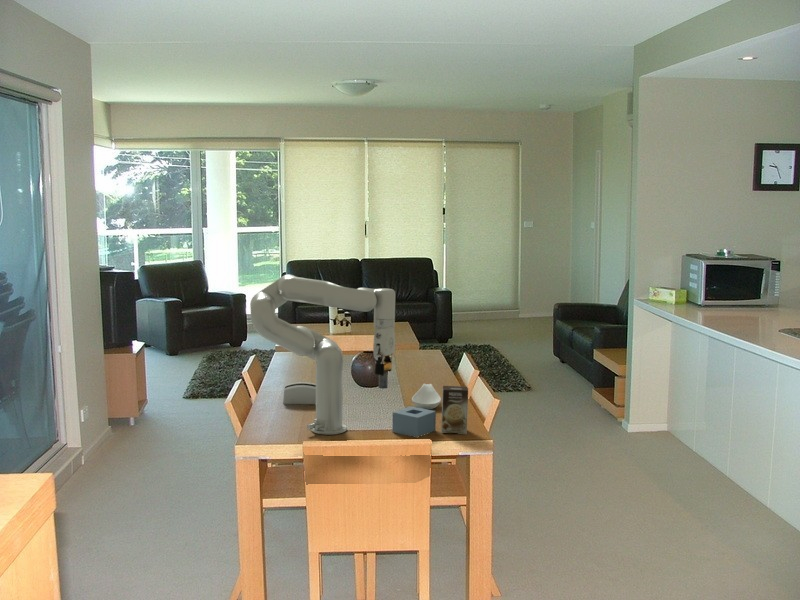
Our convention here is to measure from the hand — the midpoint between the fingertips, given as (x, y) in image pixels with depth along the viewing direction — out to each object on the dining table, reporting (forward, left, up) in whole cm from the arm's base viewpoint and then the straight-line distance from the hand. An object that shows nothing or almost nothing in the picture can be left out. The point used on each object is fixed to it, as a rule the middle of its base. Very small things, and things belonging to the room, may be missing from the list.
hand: (383, 372), depth 279 cm
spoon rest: (+38, +7, -21) cm, 44 cm away
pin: (0, 0, -6) cm, 6 cm away
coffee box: (+12, -23, -21) cm, 33 cm away
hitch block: (+3, -12, -20) cm, 24 cm away
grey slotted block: (+7, +46, -21) cm, 51 cm away
